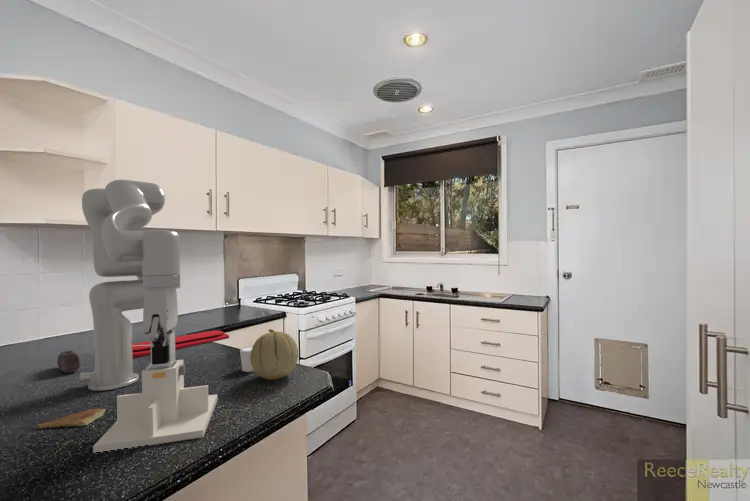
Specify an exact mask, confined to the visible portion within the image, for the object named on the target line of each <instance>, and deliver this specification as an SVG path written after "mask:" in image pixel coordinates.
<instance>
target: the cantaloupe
mask: <svg viewBox="0 0 750 501" xmlns="http://www.w3.org/2000/svg"><path fill="white" fill-rule="evenodd" d="M252 346H253V347H252V350H251V355H250V356H251V357H250V358H251V365H252V367H253V369H254V371H253V372H255V374H257V375H258V376H259V377H261V378H263V379H266V380H267V381H269V380H270V381H277V380H279V379H281V378H284V377H286V376H288V375H289V374H290V373H292V372H293V371H294V369H295V367H296V366H297V363H298V359H299V348H298V345H297V343H296V341H295V339H293V337H292V336H291V335H290V334H288V333H286V332H283V331H275V330H274V329H271V328H270V329H268V332H267V333H264V334H262V335H260V336H259V337H257V339H256V340H255V342H254V344H253V345H252Z"/></svg>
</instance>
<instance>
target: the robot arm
mask: <svg viewBox="0 0 750 501" xmlns="http://www.w3.org/2000/svg"><path fill="white" fill-rule="evenodd" d="M163 190H164V189H162V188H161V186H160V185H158V184H156V183H154V182H153V183H152V182H147V181H146V182H145V181H138V180H132V179H131V180H130V179H115V180H113V181H110V182H109V183H107V185H106V186H105V188H92V189H91V188H90V189H87V190H86V191H84V192H83V194H82V196H81V207H82V208H81V209H82V213H83V216H84V219H85V221H86V223H87V225H88V227H89V230H90V232H91V238H92V240H91V241H92V243H91V244H92V256H93V257H92V258H93V267H94V268H93V269H94V271H95V273H96V275H98V276H100V277H101V278H102V277H103V278H115V277H116V278H119V277H136V278H137V279H131V280H128V279H127V280H114V281H113V280H111V281H103V282H100V283H96V284H95V285H94V286H92V287H91V289H90V291H89V294H88V297H89V298H88V299H89V305H90V308H91V313H92V321H93V323H92V324H93V351H94V352H93V354H94V357H93V361H94V370H93V371H91V372H80V374H79V376H78V377H79V380H80V381H81V382H83V381H89V383H88V384H87V385H88V387H87V388H88V390H90V391H94V392H100V391H110V390H114V389H119V388H123V387H126V386H127V387H128V386H129V385H132V384H134V383H136V382H137V381H139V379H140V374H138V373H137V372H134V369H133V366H134V365H133V364H134V362H133V360H134V358H133V354H132V344H133V325H132V322H131V321H130V319H128V317H126V316H125V315H124V314H123V312H127V311H134V310H135V311H136V310H143V311H142V312H143V314H142V315H143V317H142V333H143V335H149V339H150V341H152V342H151V347H152V364H153V365H156V364H166V363H168V345H166V344H167V332H168V331H175V330H174V328H175V327H176V326H177V325H178V318H179V316H178V313H179V312H178V294H177V289H180V288H181V260H180V258H181V257H180V256H181V255H180V254H181V253H180V249H181V248H180V235H179V233H178V232H177V231H175V230H169V229H168V230H167V229H151V230H140V229H143V228H144V227H146V226H147V225H149V223H150V222H151V221H152V218H153V216H154V215H156V214H157V213H159V212H161V211H162V209H163V208H164V206H165V202H166V196H165V192H164V191H163ZM159 332H160V333H159ZM159 335H163V339H162V337H161V336H159Z"/></svg>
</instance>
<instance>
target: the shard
mask: <svg viewBox="0 0 750 501" xmlns="http://www.w3.org/2000/svg"><path fill="white" fill-rule="evenodd" d="M105 412H106V409H105V408H98V409H95V408H93V409H86V410H85V409H84V410H82V411H78V412H74V413H70V414H67V415H63V416H60V417H57V418H54V419H51V420H47V421H44V422H40V423H36V426H38V427H39V429H47V427H49V428H61V427H60V426H62V427H85V426H84V425H87V426H88V425H89V423H90V424H91V423H93V422H94V421H95V420H97V419H100V417H102V416H104V414H105Z"/></svg>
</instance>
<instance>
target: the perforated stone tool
mask: <svg viewBox="0 0 750 501" xmlns="http://www.w3.org/2000/svg"><path fill="white" fill-rule="evenodd" d="M56 363H57V364H56V365H57V366H58V369H60V371H61V372H62V373H65V374H69V373H73V372H75V373H76V372H77V371H78V370H79V369H80V367H81V359H80V357H79V355H78V353H77V352H76V351H73V350H64V351H61V352H60V353H59V355H58V356H57V361H56Z"/></svg>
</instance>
